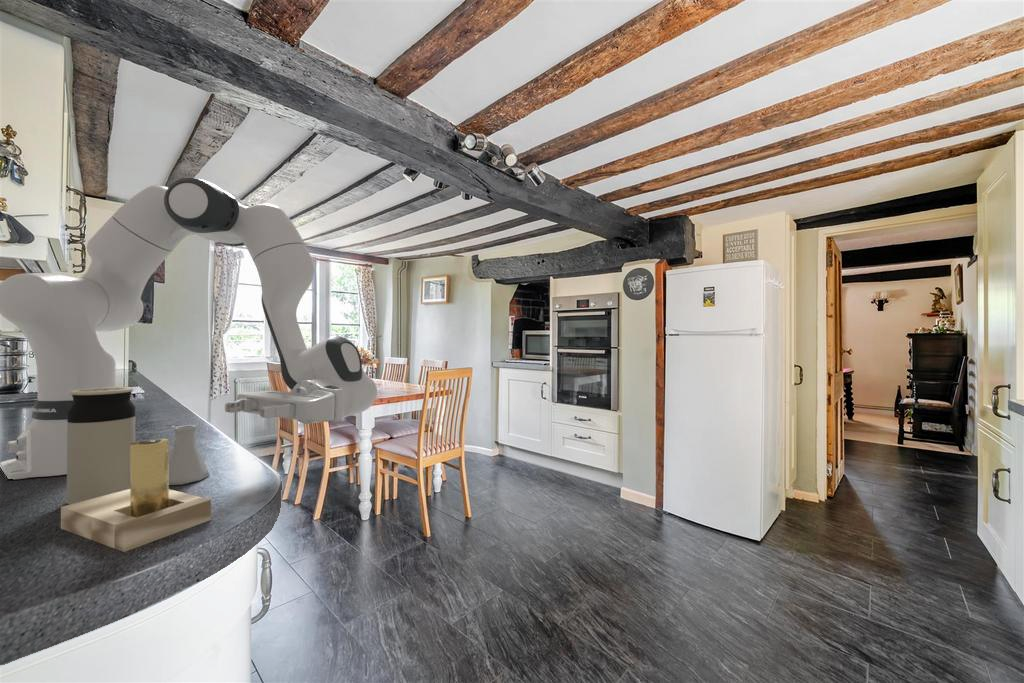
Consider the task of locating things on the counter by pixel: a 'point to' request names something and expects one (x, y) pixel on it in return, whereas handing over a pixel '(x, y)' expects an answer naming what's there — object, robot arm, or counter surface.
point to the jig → (132, 519)
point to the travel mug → (99, 442)
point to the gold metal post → (149, 476)
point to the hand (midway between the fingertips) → (244, 410)
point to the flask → (185, 458)
